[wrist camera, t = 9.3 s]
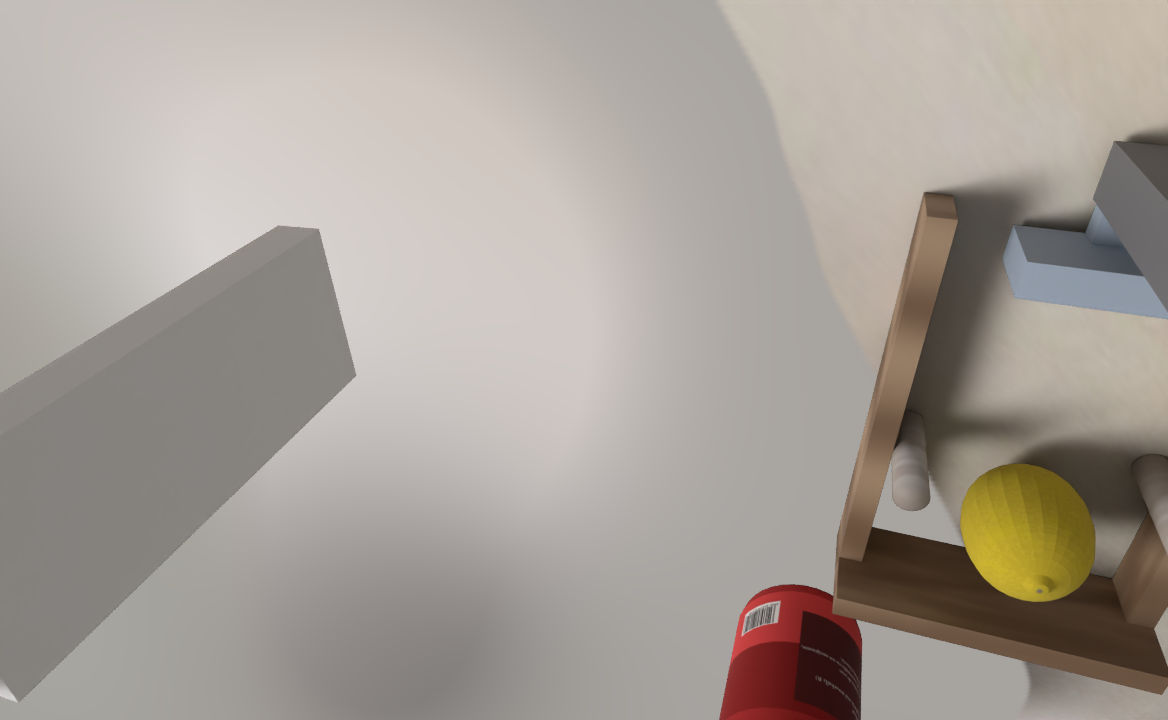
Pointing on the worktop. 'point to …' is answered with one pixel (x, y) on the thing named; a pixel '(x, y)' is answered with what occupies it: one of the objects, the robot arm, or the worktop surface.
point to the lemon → (1028, 532)
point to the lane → (944, 571)
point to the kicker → (1104, 243)
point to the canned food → (794, 659)
